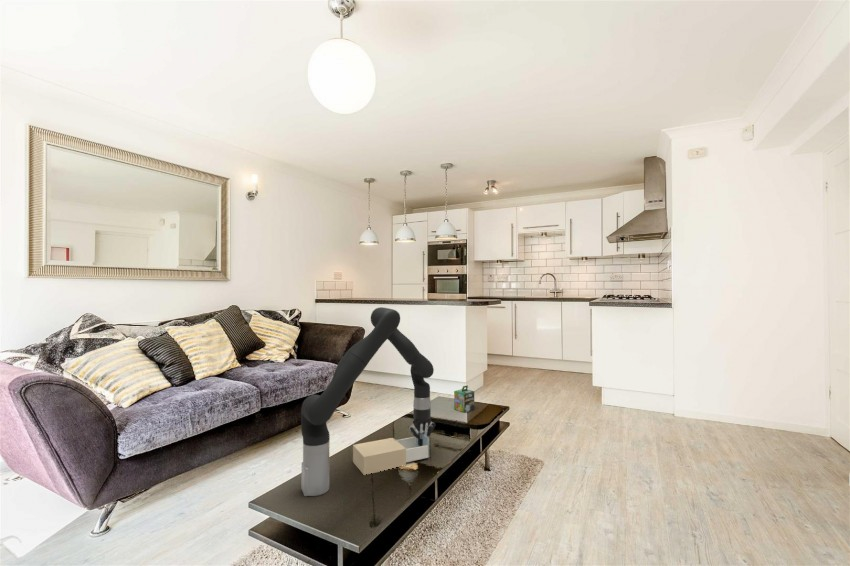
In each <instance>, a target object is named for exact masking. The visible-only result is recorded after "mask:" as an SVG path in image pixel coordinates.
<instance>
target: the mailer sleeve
mask: <svg viewBox="0 0 850 566" xmlns="http://www.w3.org/2000/svg"><path fill="white" fill-rule="evenodd" d="M396 440H397V439H395V438H394V437H389V438H384V439H379V440H377V439H376V440H372V441H367V442H363V443H357V444H353V445H352V462H353V464H354V465H355V466H356V468H357V469H359V471H360V472H361V474H363V476H366V474H367V475H371V473H372V474H375V473H380V471H381V472H384V470H385V471H389V470H388V469H390V470H393V469H392V468H394V469H397V468H396V467H399V466H402V465H407V462H406V448H405V447H403V446H402V445H401V444H400V443H398V442H397V441H396ZM399 468H400V467H399Z"/></svg>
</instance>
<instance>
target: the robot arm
mask: <svg viewBox="0 0 850 566" xmlns="http://www.w3.org/2000/svg"><path fill="white" fill-rule="evenodd" d="M370 323H371V324H372V326H373V327H374V328H373V329H372V331H371V332H370V333H369V334H367V335H366V336H365V337H363V338H362V339H360V340H359V341H358V342H355V344H353V345H352V346H350V348H349V349H348V350H347V351H346V352H345V354H344V355H343V356H342V358H340V361H339V362H337V366H336V367H335V370H334V372H333V376H332V379H331V380H330V383H329V384H328V385H327V387H326V389H324V390H323V392H322V393H321V394H320V395H319V394H311V395H309V396H307V397H306V398H305V399H304V400H303V401H302V405H301V408H300V424H301V425H300V426H301V428H300V429H301V430H300V431H301V436H302V462H301V477H300V478H301V484H300V485H301V486H300V487H301V492H302V494H303V496H304V497H307V496H309V497H316V496H321V495H323V494H326V493H327V492H328V491H329V490H330V444H331V443H330V430H329V429H328V425H327V422H328V421H329V420H330V419H331V418H332V416H333V415H334V414H335V411H336V410H337V408H338V406H339V405H340V403H341V401H342V399H343V398H344V396H346V394H347V392H348V391H349V390H350V388H351V387H352V386H353V384H354V383H355V382H356V380H357V379H358V377H360V375H361V374H362V372H363V371H364V369H366V367H367V365H369V363H370V361H371V360H372V359H373V357H374V356H375V355H376V354H377V352H379V349H380V348H381V347H382V346H383V345H384V343H385V342H386V341H389V342H390V343H391V345H393V347H394V348H395V349H396V351H397V352H398V353H399V354H400V356H401V357H402V358H403V360H404V361H405V362H406V363H407V364H408V365H410V369H409V370H410V377H411V380H412V384H413V395H414V396H413V420H412V424H411V425H408V427H407V429H408V430H409V431H410V433H411V434H412V435H413V437H416V438H418V445H419V447H420V446H423V439H422V434H424V435H425V436H427V437H430V436H431V434H432V433H433V431H434V429H435V427H436V425H437V424H436V423H435V422H433V421H432V419H431V418H432V417H431V414H432V413H431V412H432V411H431V409H432V408H431V404H432V403H431V386H430V384H429V383H428V382H427V381H426V380H425V379H428V378H429V379H430V377H433V374H434V371H435V369H434V366H433V364H432V362H431V361H430V360H429V359H428V358H426V356H424V354H422V353H421V352H420V351H419V349H418V348H417V346H416V345H415V344H414V343H413V342H412V340H410V338H408V337H407V336H406V335H405V334H403V332H401V331H400V330H399V329H398V327H399V325H400V323H401V315H400V312H398V311H397V310H396V309H393V308H389V307H382V306H381V307H376V308H375V309H374V310H372V312H371V315H370ZM415 430H417V433H416V432H415Z"/></svg>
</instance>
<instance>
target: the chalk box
mask: <svg viewBox="0 0 850 566" xmlns="http://www.w3.org/2000/svg"><path fill="white" fill-rule="evenodd" d="M468 388H469V385H468V384H467V385H462V387H461V388H460V389H456V390H454V391H453V392H454V393H453V396H454V397H453V398H454V399H453V401H454V402H453V403H454V410H455V411H459V412H460V413H461V412H462V413H469V412H472V411H475V391H474V390H471V389H468ZM471 410H472V411H471Z"/></svg>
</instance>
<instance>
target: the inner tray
mask: <svg viewBox="0 0 850 566" xmlns="http://www.w3.org/2000/svg"><path fill="white" fill-rule="evenodd" d="M415 432H416V433H417V429H415ZM422 439H423V446H420V447H419V445H418V438H416V437H414V436H411V437H406V438H401V439H400V438H399V439H395V440H396V441H397V442H398V443H400V444H401V445H402V446H403V447H405V448H406V463H409V462H414V461H418V460H423V459H427V458H430V438H429V436H425V435H424V434H422Z"/></svg>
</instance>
